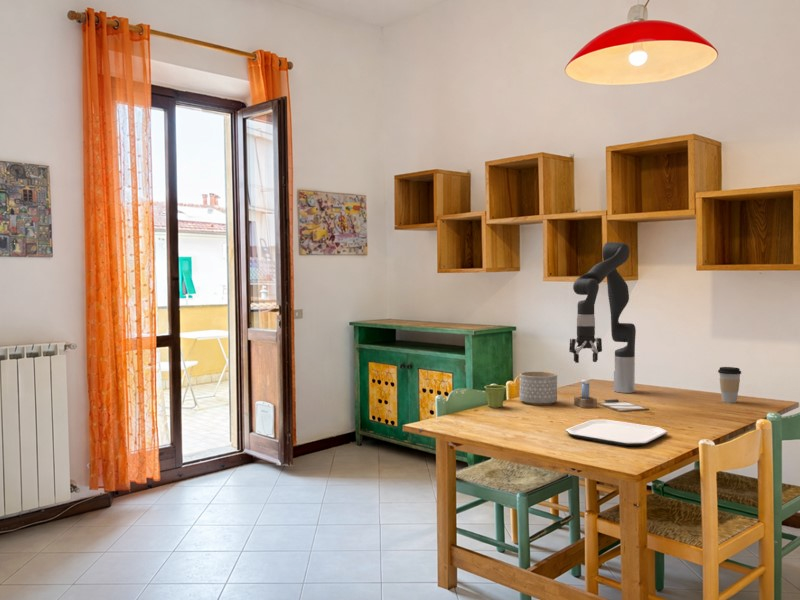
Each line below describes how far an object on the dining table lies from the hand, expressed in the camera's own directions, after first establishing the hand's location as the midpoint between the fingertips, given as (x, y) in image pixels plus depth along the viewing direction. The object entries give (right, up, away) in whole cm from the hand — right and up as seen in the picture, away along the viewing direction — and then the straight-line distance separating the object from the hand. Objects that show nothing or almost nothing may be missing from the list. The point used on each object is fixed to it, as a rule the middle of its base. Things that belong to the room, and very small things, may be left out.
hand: (585, 362), depth 283 cm
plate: (-4, -21, -52) cm, 56 cm away
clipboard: (+15, -19, -2) cm, 24 cm away
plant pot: (-39, -19, +1) cm, 44 cm away
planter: (-19, -19, +10) cm, 28 cm away
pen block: (0, -19, +1) cm, 19 cm away
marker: (0, -19, +1) cm, 19 cm away
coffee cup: (+66, -19, +8) cm, 69 cm away
